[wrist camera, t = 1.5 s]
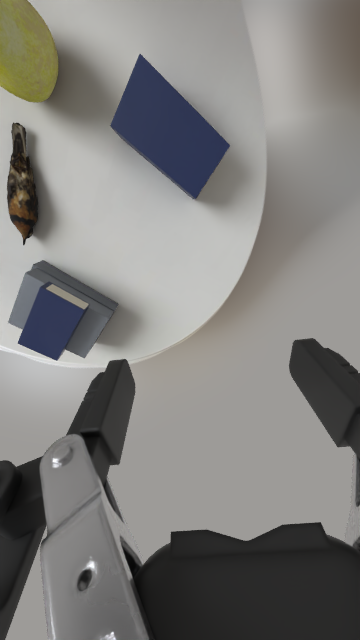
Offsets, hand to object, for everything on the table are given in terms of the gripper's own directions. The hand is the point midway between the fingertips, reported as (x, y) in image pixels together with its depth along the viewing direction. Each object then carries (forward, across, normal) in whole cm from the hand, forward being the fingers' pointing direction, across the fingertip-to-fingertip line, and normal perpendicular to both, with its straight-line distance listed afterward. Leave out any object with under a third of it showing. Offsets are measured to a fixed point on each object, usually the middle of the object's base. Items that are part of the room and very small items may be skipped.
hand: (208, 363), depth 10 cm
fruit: (+25, +13, -21) cm, 35 cm away
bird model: (+25, +20, -11) cm, 34 cm away
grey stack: (+25, +21, +6) cm, 33 cm away
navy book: (+20, +21, +6) cm, 29 cm away
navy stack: (+25, 0, -13) cm, 28 cm away
